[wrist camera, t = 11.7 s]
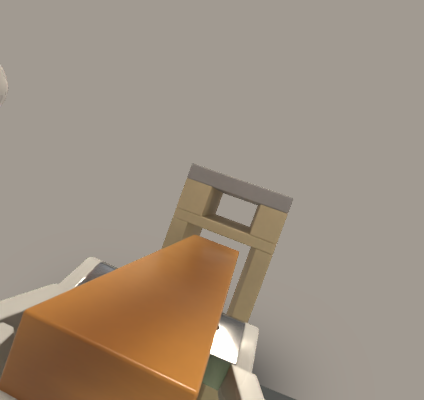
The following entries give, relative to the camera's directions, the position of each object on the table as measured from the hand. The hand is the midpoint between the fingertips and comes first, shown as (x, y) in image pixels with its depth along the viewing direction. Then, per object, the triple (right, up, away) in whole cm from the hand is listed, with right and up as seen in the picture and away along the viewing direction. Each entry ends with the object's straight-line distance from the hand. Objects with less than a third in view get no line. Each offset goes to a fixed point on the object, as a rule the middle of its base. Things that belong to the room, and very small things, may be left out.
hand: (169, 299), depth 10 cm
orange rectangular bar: (0, -2, +3) cm, 4 cm away
